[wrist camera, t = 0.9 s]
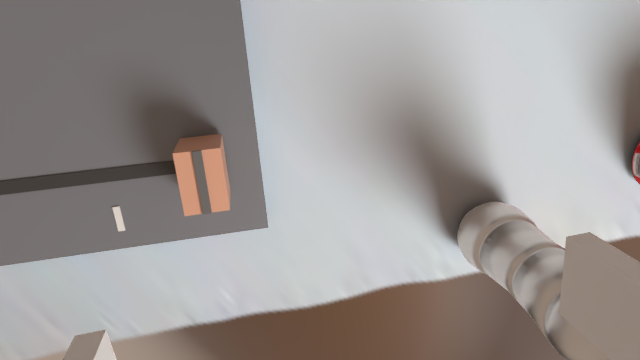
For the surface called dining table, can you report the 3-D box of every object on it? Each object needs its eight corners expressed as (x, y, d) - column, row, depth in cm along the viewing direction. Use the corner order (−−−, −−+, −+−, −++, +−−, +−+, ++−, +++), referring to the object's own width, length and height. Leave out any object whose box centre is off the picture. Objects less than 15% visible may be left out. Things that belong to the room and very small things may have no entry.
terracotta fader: (179, 138, 32) (172, 154, 28) (221, 133, 32) (220, 148, 28) (190, 194, 33) (184, 217, 29) (230, 189, 34) (229, 211, 30)
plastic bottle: (500, 259, 44) (697, 433, 25) (439, 251, 42) (601, 431, 23) (523, 199, 42) (753, 339, 23) (460, 189, 40) (654, 331, 22)
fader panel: (-166, -138, 25) (-198, -151, 23) (221, -146, 29) (220, -158, 27) (-15, 256, 34) (-31, 270, 32) (266, 217, 38) (268, 227, 36)
